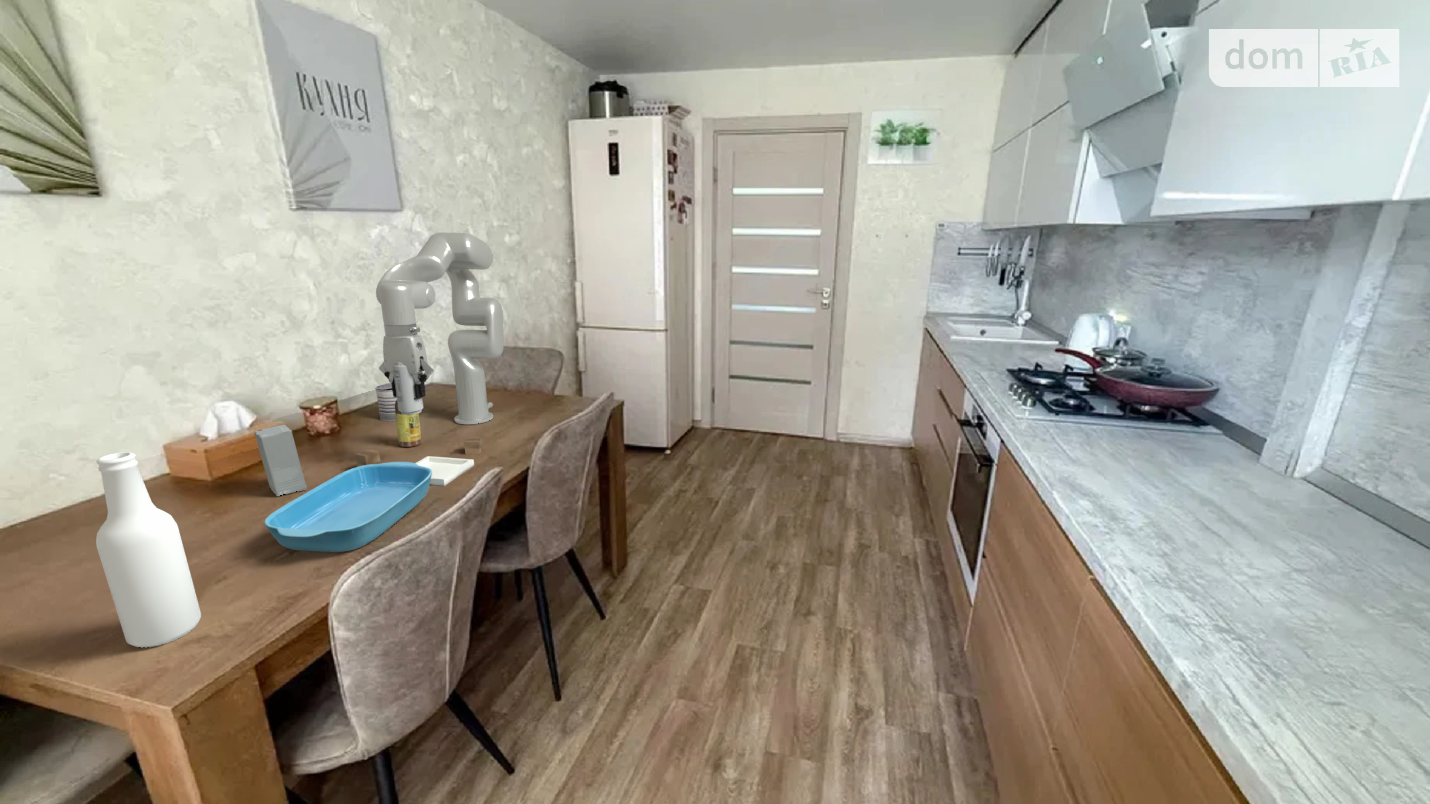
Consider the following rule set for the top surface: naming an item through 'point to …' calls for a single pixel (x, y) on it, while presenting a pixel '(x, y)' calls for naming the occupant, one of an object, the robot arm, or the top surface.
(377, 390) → the striped cup
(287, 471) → the skincare box
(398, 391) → the energy drink can
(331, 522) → the casserole dish
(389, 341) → the robot arm
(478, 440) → the walnut block
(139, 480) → the alcohol
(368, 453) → the walnut block
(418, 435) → the sauce bottle
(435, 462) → the tray
